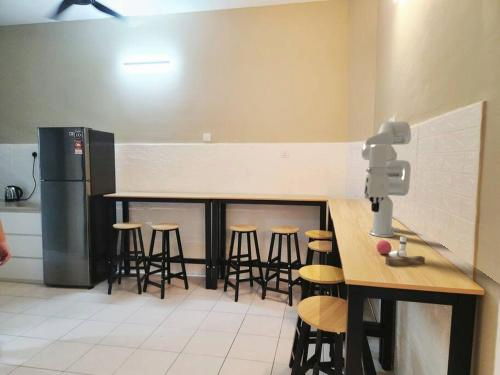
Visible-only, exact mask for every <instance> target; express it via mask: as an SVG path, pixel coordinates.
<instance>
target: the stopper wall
mask: <svg viewBox="0 0 500 375" xmlns="http://www.w3.org/2000/svg"><path fill="white" fill-rule="evenodd" d="M425 262H426V257H424V256H422V255H417V256H413V255H412V256H405V257H390V256H389V257H385V265H387V266H390V267H391V266H404V265H406V266H407V265H420V264H421V265H423V264H424V265H425Z"/></svg>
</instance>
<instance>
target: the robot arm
mask: <svg viewBox="0 0 500 375" xmlns="http://www.w3.org/2000/svg"><path fill="white" fill-rule="evenodd" d="M411 131H412V130H411V126H410V124H409V123H408V122H406V121H387V122H384V123H382V124H381V125H380V126H379V130H378V132H377V134H374V135H372V136H371V137H368V138H367V139H366V140H365V141H364V143H363V145H362V148H361V158H362V159H364V160H365V161H368V168H366V170H365V171H366V172H367V173H368V174H366V177H365V182H364V199H366V200H369V202H370V203H371V212H373V213H372V214H373V215H372V229H370V230H369V233H368V234H370V235H371V236H374V237H381V238H393V237H394V236H395V233H394V232H399V231H400V227H393V226H392V225H393V210H394V202H393V200H392V199H391V198H390V196H401V197H403V196H407V195H408V193H409V190H410V183H411V182H410V181H411V164H410V162H409V161H407V160H400V159H397V157H398V153H397V152H396V149H395V148H394V147H393V145H401V146H402V145H408V144H410V142H411V141H412V140H411V139H412V132H411Z"/></svg>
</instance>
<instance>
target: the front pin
mask: <svg viewBox="0 0 500 375" xmlns="http://www.w3.org/2000/svg"><path fill="white" fill-rule="evenodd" d="M387 255H388V256H389V258H390V257H407V252H405V251H399V250H394V251H392V250H391V251H390V252H389V253H388V254H387Z"/></svg>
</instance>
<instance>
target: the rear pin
mask: <svg viewBox="0 0 500 375" xmlns="http://www.w3.org/2000/svg"><path fill="white" fill-rule="evenodd" d="M407 238H408V237H407V236H402V235H401V236H400V237H399V246H398V247H399V249H398V251H405V252H406V250H407ZM406 253H407V252H406Z"/></svg>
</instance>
